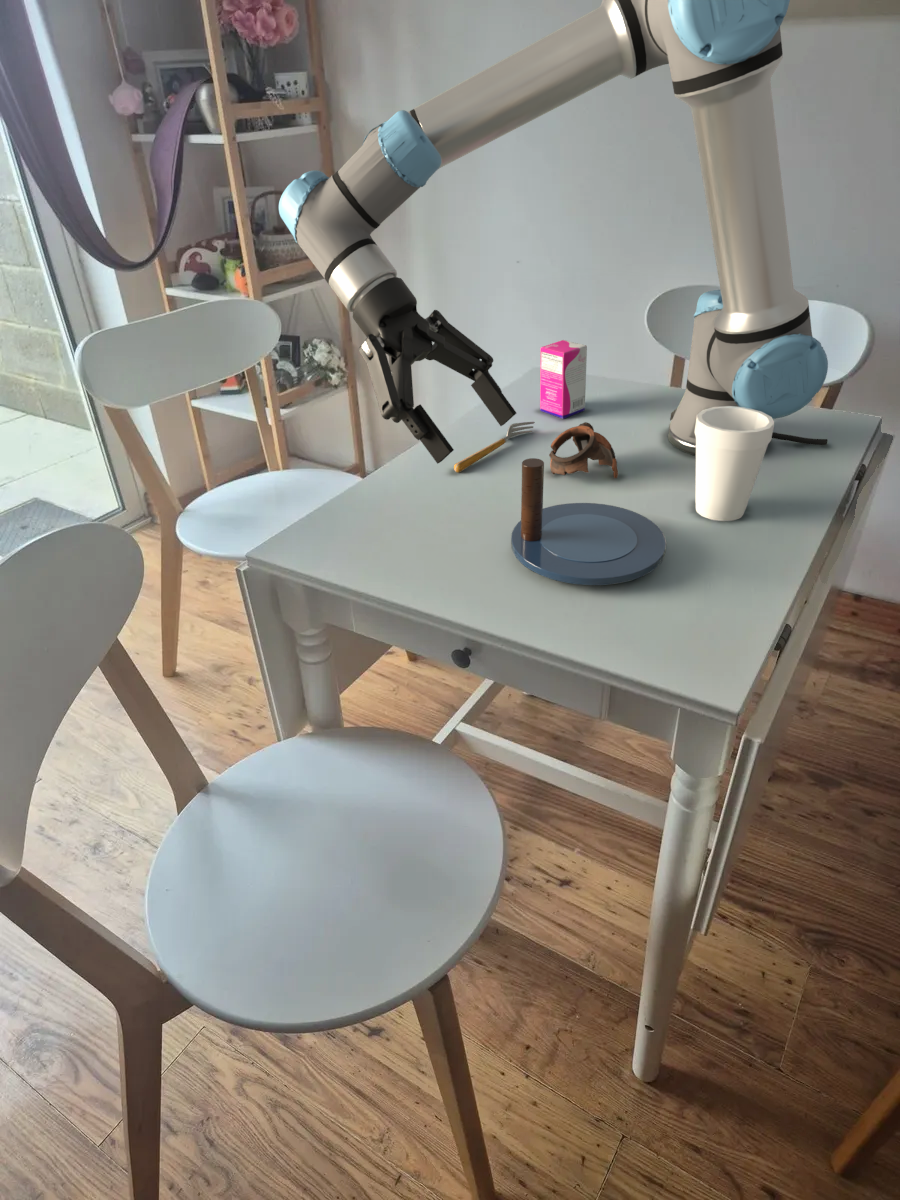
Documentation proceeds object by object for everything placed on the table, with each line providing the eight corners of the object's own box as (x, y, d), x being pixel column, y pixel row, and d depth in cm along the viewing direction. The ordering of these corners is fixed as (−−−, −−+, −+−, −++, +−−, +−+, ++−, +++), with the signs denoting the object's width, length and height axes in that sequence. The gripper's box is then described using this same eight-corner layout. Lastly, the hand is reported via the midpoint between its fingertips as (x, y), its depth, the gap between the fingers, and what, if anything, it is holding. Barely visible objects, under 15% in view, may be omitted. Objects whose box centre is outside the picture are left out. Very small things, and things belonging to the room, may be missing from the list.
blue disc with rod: (656, 510, 108) (666, 432, 102) (674, 587, 93) (686, 501, 87) (514, 508, 110) (514, 431, 104) (507, 583, 95) (508, 498, 89)
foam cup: (670, 510, 111) (682, 419, 104) (707, 489, 116) (721, 401, 109) (732, 533, 105) (749, 438, 98) (769, 510, 110) (788, 418, 103)
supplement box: (561, 402, 147) (563, 338, 140) (585, 411, 143) (589, 345, 136) (538, 410, 144) (539, 345, 137) (562, 419, 140) (565, 353, 133)
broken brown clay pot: (625, 490, 118) (603, 449, 112) (565, 512, 122) (541, 474, 116) (619, 438, 126) (598, 398, 120) (562, 460, 130) (540, 423, 124)
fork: (462, 465, 122) (535, 420, 134) (452, 460, 122) (526, 415, 135) (459, 479, 123) (532, 433, 136) (450, 474, 124) (523, 428, 137)
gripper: (421, 293, 110) (514, 421, 110) (288, 340, 93) (398, 490, 94) (452, 255, 104) (550, 390, 105) (316, 297, 87) (433, 457, 88)
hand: (478, 437), depth 99 cm, fingers open, 13 cm apart
